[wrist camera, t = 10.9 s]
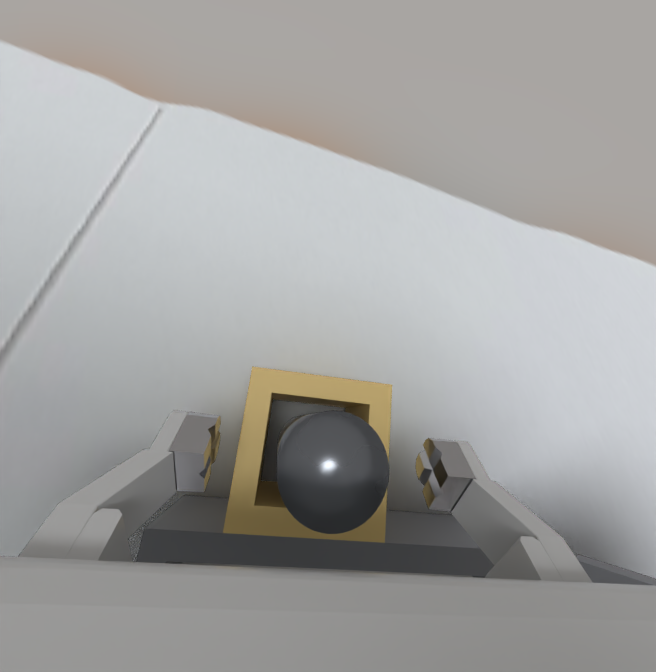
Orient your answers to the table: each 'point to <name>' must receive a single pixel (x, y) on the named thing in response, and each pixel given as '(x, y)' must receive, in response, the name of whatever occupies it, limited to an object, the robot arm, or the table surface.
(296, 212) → the table surface
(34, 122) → the table surface
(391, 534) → the case
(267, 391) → the frame
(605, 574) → the case lid
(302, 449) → the rod
